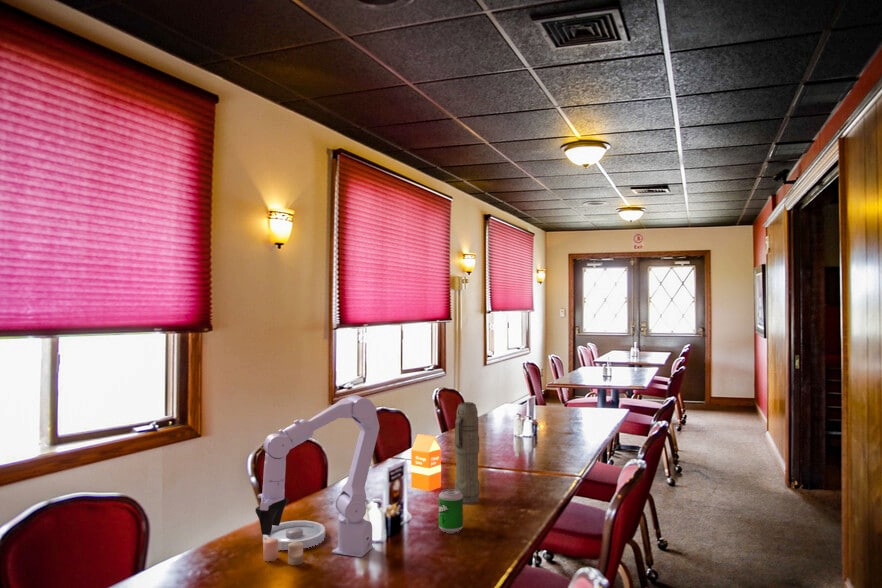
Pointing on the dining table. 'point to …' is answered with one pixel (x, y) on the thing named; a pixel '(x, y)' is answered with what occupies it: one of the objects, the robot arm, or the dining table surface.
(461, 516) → the soda can
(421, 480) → the orange juice
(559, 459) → the dining table surface
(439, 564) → the dining table surface
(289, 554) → the maple bead
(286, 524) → the groove tray
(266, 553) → the ball
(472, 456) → the thermos
